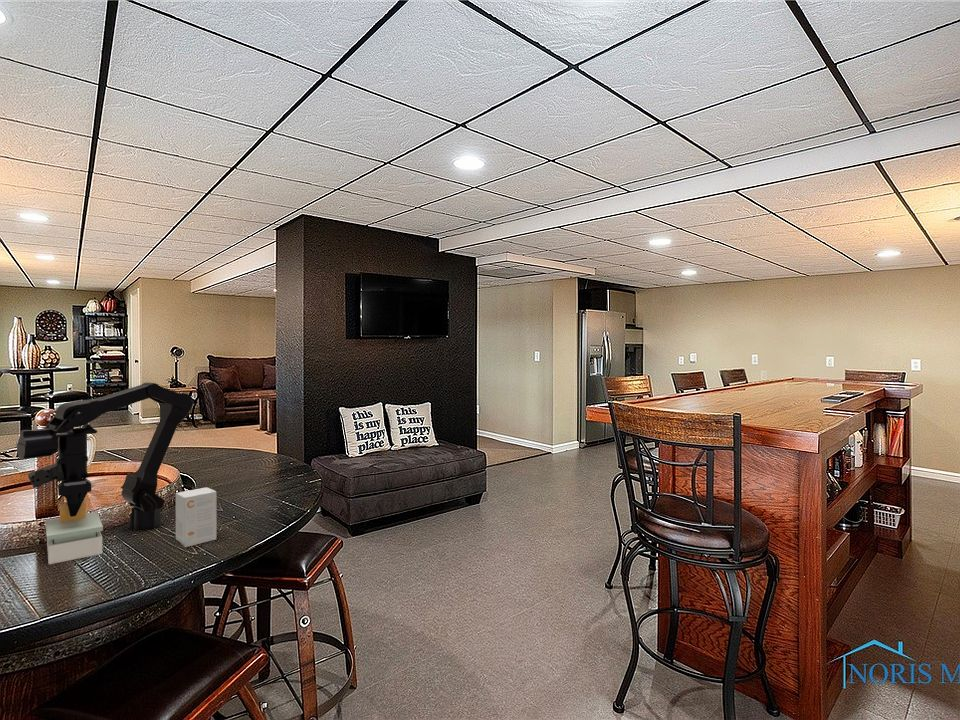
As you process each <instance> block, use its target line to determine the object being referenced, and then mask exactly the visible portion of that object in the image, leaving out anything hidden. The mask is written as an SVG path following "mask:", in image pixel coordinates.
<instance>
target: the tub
mask: <svg viewBox="0 0 960 720" xmlns="http://www.w3.org/2000/svg"><path fill="white" fill-rule="evenodd" d="M46 549H47V560H48V561H47V562H48V565H54V564H57V563H59V564H60V563H63V562H68V561H73V560H77V559H84V558H88V557H93V556H99V555H102V554H103V535H102V531H98V532H96V537H90V538H85V539H79V540H74V541H69V542H63V543H57V544H54V539H52V540H47V539H46Z"/></svg>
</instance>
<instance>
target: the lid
mask: <svg viewBox="0 0 960 720" xmlns="http://www.w3.org/2000/svg"><path fill="white" fill-rule="evenodd" d="M86 503H87V502H86V499H84V500H83V502H82V504H81V506H80V509H79V511H78V513H77V515H76V516H72V517H71V516H70V512H69V508H68V504H67V502H64V503H59V517H55V518H49V519H48V518H47V519H45V532H46V541H47V540H52V539H54V544H57V543H62V542H68V541H73V540H79V539H85V538H90V537H96V532H98V531H100V532H103V531H104V525H103V523H102V521H101V519H100V516H99V512H98V511H95V512H86V508H87V507H86Z"/></svg>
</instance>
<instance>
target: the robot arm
mask: <svg viewBox="0 0 960 720" xmlns="http://www.w3.org/2000/svg"><path fill="white" fill-rule="evenodd" d="M148 399H150V400H152V401H154V402H155V403H158V404H159V405H160V406H159V422H158V424H157V426H156V428H155V431H154V433H153V435H152V437H151V440H150V443H149V444H148V447H147V449H146V451H145V453H144V456H143V458H142V460H141V463H140V465H139V467H138V469H137V470H136V471H135V472H134V473H133V474H130V473H127V474H126V476H125V479H124V482H123V484H122V486H120V489H122V490H121V496H122V499H123V501H126V502H128V505H129V507H132V508H131V513H130V514H129V528H130V529H133V530H135V531H146V530H147V531H149V530H154V529H156V528H158V527H160V526H161V525H162V517H161V515H162V512H161V511H162V509H163V507H164V505H165V502H166V501H165V499H164V498H163V497H160V496H159V495H158V494H157V493H156V492H157V488H158V472H159V470H160V468H161V466H162V462H163V460H164V459H165V456H166V454H167V452H168V449H169V447H170V444H171V442H172V440H173V437H174V435H175V433H176V430H177V427H178V426H179V424H181V422H183V420H184V419H186V417H187V416H188V415H189V413H190V411H191V410H192V408H193V405H194V400H193V398H192V397H191V395H190V394H188V393H186V392H178V391H177V392H176V391H174V390H171V389H168V388H166V387H163V386H161V385H160V384H158V383H155V382H143V383H142V384H139V385H136V386H134V387H130V388H126V389H123V390H120V391H117V392H114V393H111V394H106V395H103V396H101V397H96V398H92V399H91V398H90V399H81V400H76V401H69V402H64V403H62V404H60V405H59V406H57V409H56V410H55V414H54V417H53V418H52V419H51V420H49V422H48V423H47V424H46V425H45V427H44V428H42V429H22V430H20V436H19V437H18V441H17V443H16V453H17V456H18V459H19V460H28V459H29V460H30V459H35V458H36V459H37V458H44V457H46V458H47V457H51V456H53V455H54V454H55V453H57V451H58V453H57V458H56V462H55V463H53V464H51V465H47V466H45V467H41V468H39V469H36V470H33V471H31V472H29V473H28V474H27V478H28V480H29V481H30V483H31V486H32V488H33V489H37V488H40V487H41V486H43V485H45V484H47V483H50V482H53V481H55V483H58V484H57V485H56V488H57V494H58V495H57V496H60V497H64V498H65V500H66V503H67V504H68V508H69V512H70V516H71V517H72V516H76V515H77V513H78V511H79V509H80V506H81V504H82V502H83V500H85V498H86V496H87V495H88V493H91V492H92V482H91V480H89V479H88V478H89V473H88V462H89V457H88V435H90V434H91V435H92V434H97V433H98V430H97V429H95V428H94V427H92V425H91V424H89V423H91V422H93V421H95V420H97V419H98V418H99V417H101V416H102V415H104V414H106V413H108V412H111V411H114V410H118V409H121V408H123V407H126V406H130V405H133V404H135V403H140V402H142V401H144V400H148Z"/></svg>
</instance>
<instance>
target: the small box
mask: <svg viewBox="0 0 960 720" xmlns="http://www.w3.org/2000/svg"><path fill="white" fill-rule="evenodd" d="M217 514H218V513H217V491H216V490H215V489H212V488H210V487H201V488H197V489H190V490H184V491H179V492H176V493H175V540H176V541H178V542H179V543H180V544H181V546H182V547H183V548H188V547H193V546H195V545H199V544H205V543H207V542H208V543H209V542H212V541H215V540H217Z"/></svg>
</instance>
